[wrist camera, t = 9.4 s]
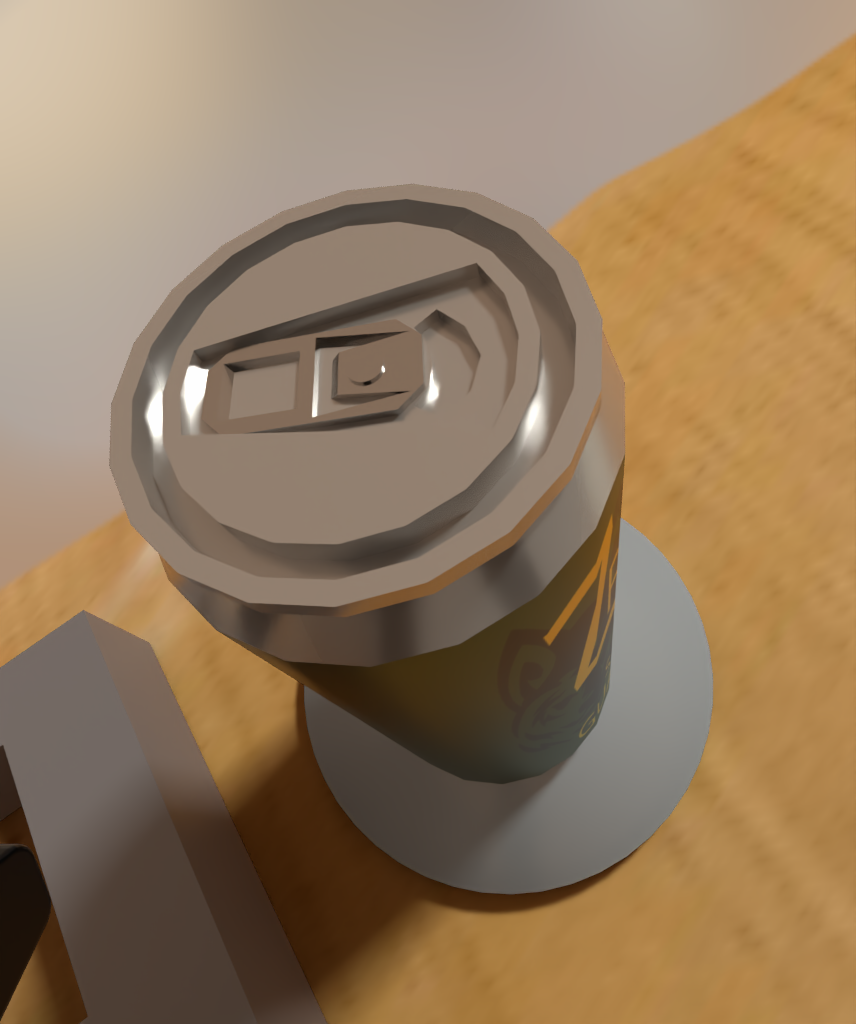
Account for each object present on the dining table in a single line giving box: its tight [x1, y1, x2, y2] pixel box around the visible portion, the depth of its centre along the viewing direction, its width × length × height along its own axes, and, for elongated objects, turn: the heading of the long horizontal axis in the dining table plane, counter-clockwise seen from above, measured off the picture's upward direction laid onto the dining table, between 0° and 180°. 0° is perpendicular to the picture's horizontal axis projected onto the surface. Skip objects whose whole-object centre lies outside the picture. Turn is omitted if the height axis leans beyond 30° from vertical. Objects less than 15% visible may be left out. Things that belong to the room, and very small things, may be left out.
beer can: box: [109, 184, 625, 784], centre depth 12 cm, size 5×5×12 cm
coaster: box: [304, 518, 713, 894], centre depth 18 cm, size 10×10×1 cm
